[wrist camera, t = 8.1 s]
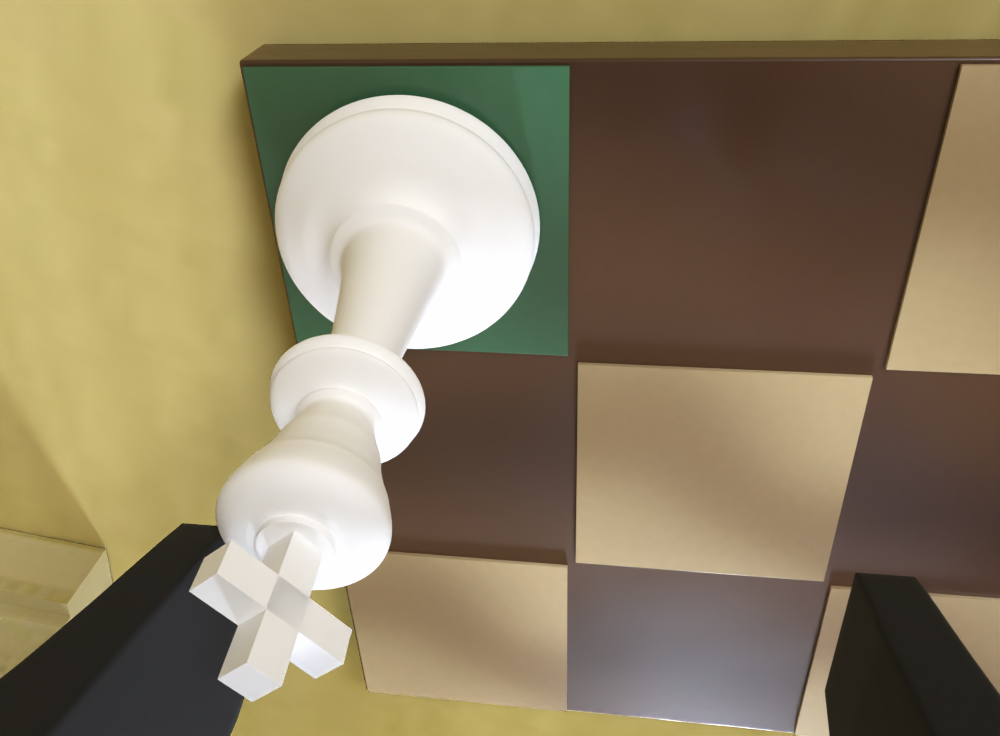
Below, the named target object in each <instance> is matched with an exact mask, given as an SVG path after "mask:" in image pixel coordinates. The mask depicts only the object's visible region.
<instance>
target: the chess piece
mask: <svg viewBox="0 0 1000 736" xmlns="http://www.w3.org/2000/svg"><path fill="white" fill-rule="evenodd" d="M275 231H276V238H277V243H278V247H279V251H280V254H281V257H282V259H283V262H284V264H285V267H286V269H287V271H288V273H289V275H290V276H291V278H292V280H293V281H294V283H295V285H296V286H297V288H298V289H299V290H300V292H301V293H302V294H303V295H304V297H305V298H306V299H307V300H308V301H309V302H310V303H311V304H312V305H313V306H314V307H315V308H316V309H317V310H318V311H319V312H320V313H321V314H322V315H324V316H325V317H326V318H327V319H329V320H330V321H332V322H333V329H332V334H327V335H320V336H316V337H312V338H309V339H306V340H304V341H301V342H299V343H298V344H296V345H294V346H293V347H291V348H290V349H289V350H288V351H286V352H285V353H284V354H283V355H282V357H281V358H280V359H279V360H278V362H277V364H276V365H275V367H274V370H273V372H272V375H271V379H270V406H271V411H272V414H273V417H274V420H275V422H276V424H277V426H278V427H279V429H280V430H281V431H280V432H279V433H278V435H277V436H276V437H275V438H274V439H273V440H272V441H271V442H269V443H268V444H267V445H266V446H264V447H263V448H261V449H259V450H258V451H256V452H255V453H253V454H252V455H251V456H250V457H249V458H248V459H247V460H246V461H244V462H243V463H242V464H241V465H240V466H239V467H238V468H237V469H236V470H235V471H234V472H233V473H232V474H231V475H230V477H229V478H228V479H227V480H226V482H225V483H224V485H223V487H222V489H221V491H220V493H219V495H218V499H217V503H216V522H217V526H218V529H219V532H220V535H221V537H222V539H223V541H224V542H225V545H223V546H222V547H220V548H219V549H217V550H216V551H214V552H213V553H211V554H210V555H208V556H207V557H205V558H204V560H203V562H202V564H201V566H200V568H199V571H198V573H197V575H196V577H195V579H194V581H193V584H192V586H191V588H190V590H189V592H191V593H192V594H194V595H195V596H196V597H198V598H199V599H201V600H202V601H204V602H205V603H207V604H208V605H209V606H211V607H212V608H214V609H215V610H217V611H218V612H219V613H221V614H222V615H224V616H225V617H227V618H228V619H230V620H231V621H232V622H234V623H235V624H237V625H238V627H237V630H236V632H235V635H234V637H233V640H232V643H231V645H230V648H229V650H228V653H227V655H226V658H225V661H224V663H223V666H222V668H221V671H220V674H219V676H218V680H219V681H221V682H222V683H224V684H225V685H227V686H228V687H230V688H231V689H233V690H234V691H236V692H238V693H239V694H241V695H242V696H244V697H245V698H247V699H248V700H250V701H251V702H253V701H255V700H257V699H259V698H261V697H263V696H265V695H266V694H268V693H270V692H272V691H274V690H276V689H278V688H279V687H281V686H282V684H283V681H284V678H285V674H286V671H287V668H288V665H289V662H292V663H293V664H294V665H296V666H297V667H299V668H300V669H302V670H303V671H305V672H306V673H307V674H309V675H310V676H312V677H313V678H315V679H316V678H318V677H320V676H322V675H324V674H325V673H327V672H329V671H331V670H333V669H335V668H337V667H339V666H341V665H343V664H344V660H345V656H346V652H347V648H348V644H349V640H350V636H351V632H352V629H351V628H349V627H348V626H347V625H345V624H344V623H343V622H341V621H340V620H339V619H337V618H336V617H334V616H333V615H332V614H330V613H329V612H328V611H326V610H325V609H324V608H322V607H321V606H320V605H318V604H317V603H316V602H314V601H313V600H312V599H310V595H311V591H312V590H326V589H334V588H339V587H343V586H347V585H350V584H352V583H355V582H357V581H359V580H361V579H363V578H365V577H366V576H368V575H369V574H370V573H372V572H373V571H374V570H375V569H376V568H377V567H378V566H379V565H380V564H381V562H382V561H383V559H384V558H385V556H386V554H387V552H388V549H389V546H390V543H391V537H392V519H391V511H390V505H389V499H388V495H387V492H386V489H385V486H384V484H383V479H382V474H381V463H383V462H386V461H388V460H390V459H392V458H394V457H395V456H397V455H398V454H400V453H401V452H402V451H403V450H404V449H405V448H406V447H407V446H408V445H409V444H410V442H411V441H412V440H413V439H414V437H415V436H416V435H417V433H418V432H419V430H420V428H421V426H422V423H423V420H424V416H425V397H424V392H423V389H422V386H421V384H420V382H419V380H418V378H417V376H416V375H415V373H414V372H413V370H412V369H411V368H410V367H409V365H408V364H407V363H406V362H405V361H404V360H403V359H402V357H403V355H404V353H405V351H406V350H407V348H408V349H425V348H435V347H441V346H446V345H450V344H454V343H457V342H460V341H463V340H465V339H468V338H470V337H472V336H474V335H476V334H478V333H480V332H482V331H483V330H485V329H487V328H488V327H489V326H491V325H492V324H494V323H495V322H496V321H497V320H498V319H500V318H501V317H502V316H503V315H504V314H505V313H506V312H507V311H508V309H509V308H510V307H511V306H512V305H513V303H514V302H515V301H516V299H517V298H518V296H519V295H520V293H521V291H522V289H523V287H524V285H525V283H526V281H527V278H528V276H529V273H530V271H531V268H532V266H533V263H534V260H535V257H536V254H537V249H538V244H539V236H540V217H539V209H538V203H537V199H536V195H535V192H534V189H533V186H532V183H531V181H530V179H529V176H528V174H527V172H526V170H525V169H524V167H523V165H522V163H521V162H520V160H519V159H518V157H517V156H516V155H515V153H514V152H513V151H512V149H511V148H510V147H509V146H508V145H507V143H506V142H505V141H504V140H503V139H502V138H501V137H500V136H499V135H498V134H497V133H496V132H494V131H493V130H492V129H491V128H490V127H488V126H487V125H486V124H484V123H483V122H482V121H480V120H479V119H477V118H476V117H474V116H472V115H471V114H469V113H467V112H465V111H463V110H461V109H459V108H457V107H454V106H452V105H449V104H447V103H444V102H441V101H437V100H434V99H430V98H425V97H419V96H411V95H385V96H377V97H371V98H367V99H363V100H359V101H356V102H353V103H350V104H348V105H345V106H343V107H341V108H339V109H337V110H335V111H333V112H332V113H330V114H329V115H327V116H326V117H324V118H323V119H321V120H320V121H319V122H318V123H316V124H315V125H314V126H313V127H312V128H311V129H310V130H309V131H308V132H307V133H306V134H305V135H304V137H303V138H302V139H301V140H300V142H299V143H298V144H297V146H296V147H295V149H294V151H293V152H292V154H291V156H290V158H289V160H288V162H287V165H286V167H285V170H284V173H283V177H282V181H281V184H280V187H279V190H278V194H277V199H276V205H275Z"/></svg>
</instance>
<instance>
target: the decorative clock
mask: <svg viewBox="0 0 1000 736" xmlns="http://www.w3.org/2000/svg"><path fill="white" fill-rule="evenodd" d="M112 584H113V583H112V578H111V573H110V567H109V562H108V557H107V552H106V549H103V548H98V547H93V546H88V545H83V544H78V543H73V542H68V541H63V540H58V539H53V538H47V537H42V536H37V535H32V534H27V533H22V532H17V531H12V530H7V529H2V528H0V678H1V677H3V676H4V675H5V674H7V673H8V672H9V671H10V670H12V669H13V668H14V667H15V666H17V665H18V664H19V663H20V662H22V661H23V660H24V659H25V658H26V657H28V656H29V655H30V654H31V653H32V652H34V651H35V650H36V649H37V648H38V647H39V646H41V645H42V644H43V643H44V642H45V641H47V640H48V639H49V638H50V637H51V636H52V635H54V634H55V633H56V632H57V631H58V630H59V629H61V628H62V627H63V626H64V625H65V624H66V623H68V622H69V621H70V620H71V619H72V618H73V617H75V616H76V615H77V614H78V613H79V612H81V611H82V610H83V609H84V608H85V607H86V606H88V605H89V604H90V603H91V602H92V601H93V600H94V599H96V598H97V597H98V596H99V595H100V594H101V593H102V592H104V591H105V590H106V589H107V588H108V587H109V586H110V585H112Z"/></svg>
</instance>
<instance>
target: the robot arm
mask: <svg viewBox="0 0 1000 736" xmlns="http://www.w3.org/2000/svg"><path fill="white" fill-rule="evenodd" d="M223 545H225V542H224V541H223V539H222V537H221V535H220V532H219V529H218V526H211V525H197V524H184V523H182V524H181V525H180V526H179V527H177V528H176V529H175V530H174V531H173V532H171V533H170V534H169V535H168V536H167V537H165V538H164V539H163V540H162V541H161V542H160V543H158V544H157V545H156V546H155V547H154V548H153V549H152V550H150V551H149V552H148V553H147V554H146V555H145V556H144V557H142V558H141V559H140V560H139V561H138V562H137V563H136V564H134V565H133V566H132V567H131V568H130V569H129V570H128V571H126V572H125V573H124V574H123V575H122V576H121V577H120V578H118V579H117V580H116V581H115V582H114V583H113V584H112V585H110V586H109V587H108V588H107V589H106V590H105V591H104V592H102V593H101V594H100V595H99V596H98V597H97V598H96V599H94V600H93V601H92V602H91V603H90V604H89V605H88V606H86V607H85V608H84V609H83V610H82V611H81V612H79V613H78V614H77V615H76V616H75V617H73V618H72V619H71V620H70V621H69V622H68V623H66V624H65V625H64V626H63V627H62V628H61V629H59V630H58V631H57V632H56V633H55V634H54V635H52V636H51V637H50V638H49V639H48V640H47V641H45V642H44V643H43V644H42V645H41V646H39V647H38V648H37V649H36V650H35V651H34V652H32V653H31V654H30V655H29V656H28V657H26V658H25V659H24V660H23V661H22V662H20V663H19V664H18V665H17V666H15V667H14V668H13V669H12V670H10V671H9V672H8V673H7V674H5V675H4V676H3V677H1V678H0V736H230V734H231V732H232V730H233V728H234V725H235V723H236V721H237V718H238V715H239V712H240V709H241V706H242V703H243V700H244V696H242V695H241V694H239V693H238V692H236V691H234V690H233V689H231V688H230V687H228V686H227V685H225V684H224V683H222V682H221V681H219V680H218V676H219V674H220V671H221V668H222V666H223V663H224V661H225V658H226V655H227V653H228V650H229V648H230V645H231V643H232V640H233V637H234V635H235V632H236V630H237V627H238V625H237V624H235V623H234V622H232V621H231V620H230V619H228V618H227V617H225V616H224V615H222V614H221V613H219V612H218V611H217V610H215V609H214V608H212V607H211V606H209V605H208V604H207V603H205V602H204V601H202V600H201V599H199V598H198V597H196V596H195V595H194V594H192V593H191V592H189V590H190V588H191V586H192V584H193V581H194V579H195V577H196V575H197V573H198V571H199V568H200V566H201V564H202V562H203V560H204V558H205V557H207V556H208V555H210V554H211V553H213V552H214V551H216V550H217V549H219V548H220V547H222V546H223ZM825 699H826V708H827V717H828V726H829V736H1000V694H999V693H998V691H997V690H996V688H995V687H994V686H993V684H992V683H991V682H990V680H989V679H988V677H987V676H986V675H985V673H984V672H983V671H982V669H981V668H980V666H979V665H978V664H977V662H976V661H975V660H974V658H973V657H972V655H971V654H970V652H969V651H968V650H967V648H966V647H965V645H964V644H963V643H962V641H961V640H960V638H959V637H958V636H957V634H956V633H955V631H954V630H953V628H952V627H951V626H950V624H949V623H948V621H947V620H946V618H945V617H944V615H943V614H942V613H941V611H940V610H939V608H938V607H937V605H936V604H935V602H934V601H933V600H932V598H931V597H930V595H929V594H928V592H927V591H926V589H925V588H924V586H923V585H922V584H921V583H920V582H919V581H918V580H917V579H916V578H915V577H910V576H896V575H882V574H869V573H855V576H854V580H853V584H852V588H851V591H850V595H849V599H848V603H847V607H846V611H845V614H844V618H843V622H842V626H841V630H840V633H839V637H838V641H837V645H836V649H835V653H834V656H833V660H832V664H831V668H830V672H829V676H828V679H827V683H826V687H825Z"/></svg>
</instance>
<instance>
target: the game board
mask: <svg viewBox="0 0 1000 736" xmlns="http://www.w3.org/2000/svg"><path fill="white" fill-rule="evenodd" d="M240 68H241V73H242V78H243V82H244V87H245V92H246V97H247V102H248V107H249V112H250V117H251V122H252V127H253V132H254V137H255V142H256V147H257V152H258V156H259V161H260V166H261V171H262V176H263V181H264V186H265V191H266V196H267V201H268V206H269V211H270V216H271V221H272V225H273V230H274V235H275V240H276V245H277V250H278V255H279V260H280V265H281V270H282V275H283V280H284V285H285V290H286V295H287V299H288V304H289V309H290V314H291V319H292V324H293V329H294V334H295V339H296V344H298V343H299V342H301V341H304V340H306V339H309V338H312V337H316V336H320V335H327V334H332V329H333V322H332V321H330V320H329V319H327V318H326V317H325V316H324V315H322V314H321V313H320V312H319V311H318V310H317V309H316V308H315V307H314V306H313V305H312V304H311V303H310V302H309V301H308V300H307V299H306V298H305V297H304V295H303V294H302V293H301V292H300V290H299V289H298V288H297V286H296V285H295V283H294V281H293V280H292V278H291V276H290V275H289V273H288V271H287V269H286V267H285V264H284V262H283V259H282V257H281V254H280V251H279V247H278V243H277V238H276V231H275V205H276V199H277V194H278V190H279V187H280V184H281V181H282V177H283V173H284V170H285V167H286V165H287V162H288V160H289V158H290V156H291V154H292V152H293V151H294V149H295V147H296V146H297V144H298V143H299V142H300V140H301V139H302V138H303V137H304V135H305V134H306V133H307V132H308V131H309V130H310V129H311V128H312V127H313V126H314V125H315V124H316V123H318V122H319V121H320V120H321V119H323V118H324V117H326V116H327V115H329V114H330V113H332V112H333V111H335V110H337V109H339V108H341V107H343V106H345V105H348V104H350V103H353V102H356V101H359V100H363V99H367V98H371V97H377V96H385V95H411V96H419V97H425V98H430V99H434V100H437V101H441V102H444V103H447V104H449V105H452V106H454V107H457V108H459V109H461V110H463V111H465V112H467V113H469V114H471V115H472V116H474V117H476V118H477V119H479V120H480V121H482V122H483V123H484V124H486V125H487V126H488V127H490V128H491V129H492V130H493V131H494V132H496V133H497V134H498V135H499V136H500V137H501V138H502V139H503V140H504V141H505V142H506V143H507V145H508V146H509V147H510V148H511V149H512V151H513V152H514V153H515V155H516V156H517V157H518V159H519V160H520V162H521V163H522V165H523V167H524V169H525V170H526V172H527V174H528V176H529V179H530V181H531V183H532V186H533V189H534V192H535V195H536V199H537V203H538V209H539V217H540V236H539V244H538V249H537V254H536V257H535V260H534V263H533V266H532V268H531V271H530V273H529V276H528V278H527V281H526V283H525V285H524V287H523V289H522V291H521V293H520V295H519V296H518V298H517V299H516V301H515V302H514V303H513V305H512V306H511V307H510V308H509V309H508V311H507V312H506V313H505V314H504V315H503V316H502V317H501V318H500V319H498V320H497V321H496V322H495V323H494V324H492V325H491V326H489V327H488V328H487V329H485V330H483V331H482V332H480V333H478V334H476V335H474V336H472V337H470V338H468V339H465V340H463V341H460V342H457V343H454V344H450V345H446V346H441V347H435V348H425V349H408V348H407V350H406V351H405V353H404V355H403V357H402V359H403V360H404V361H405V362H406V363H407V364H408V365H409V367H410V368H411V369H412V370H413V372H414V373H415V375H416V376H417V378H418V380H419V382H420V384H421V386H422V389H423V392H424V397H425V416H424V420H423V423H422V426H421V428H420V430H419V432H418V433H417V435H416V436H415V437H414V439H413V440H412V441H411V442H410V444H409V445H408V446H407V447H406V448H405V449H404V450H403V451H402V452H401V453H400V454H398V455H397V456H395V457H394V458H392V459H390V460H388V461H386V462H383V463H381V474H382V479H383V484H384V486H385V489H386V492H387V495H388V499H389V505H390V511H391V519H392V537H391V543H390V546H389V549H388V552H387V554H386V556H385V558H384V559H383V561H382V562H381V564H380V565H379V566H378V567H377V568H376V569H375V570H374V571H373V572H372V573H370V574H369V575H368V576H366V577H365V578H363V579H361V580H359V581H357V582H355V583H352V584H350V585H347V586H346V590H347V595H348V600H349V605H350V610H351V615H352V620H353V625H354V630H355V635H356V640H357V645H358V650H359V655H360V659H361V664H362V669H363V674H364V679H365V684H366V689H367V690H368V692H376V693H386V694H396V695H406V696H416V697H426V698H436V699H446V700H456V701H466V702H475V703H485V704H495V705H505V706H515V707H525V708H535V709H545V710H555V711H565V712H567V710H573V711H583V712H593V713H603V714H612V715H622V716H632V717H642V718H652V719H662V720H672V721H682V722H692V723H702V724H712V725H722V726H732V727H742V728H752V729H762V730H772V731H782V732H791V733H794V734H795V735H803V736H829V726H828V717H827V708H826V699H825V687H826V683H827V679H828V676H829V672H830V668H831V664H832V660H833V656H834V653H835V649H836V645H837V641H838V637H839V633H840V630H841V626H842V622H843V618H844V614H845V611H846V607H847V603H848V599H849V595H850V591H851V588H852V584H853V580H854V576H855V573H869V574H882V575H896V576H910V577H915V578H916V579H917V580H918V581H919V582H920V583H921V584H922V585H923V586H924V588H925V589H926V591H927V592H928V594H929V595H930V597H931V598H932V600H933V601H934V602H935V604H936V605H937V607H938V608H939V610H940V611H941V613H942V614H943V615H944V617H945V618H946V620H947V621H948V623H949V624H950V626H951V627H952V628H953V630H954V631H955V633H956V634H957V636H958V637H959V638H960V640H961V641H962V643H963V644H964V645H965V647H966V648H967V650H968V651H969V652H970V654H971V655H972V657H973V658H974V660H975V661H976V662H977V664H978V665H979V666H980V668H981V669H982V671H983V672H984V673H985V675H986V676H987V677H988V679H989V680H990V682H991V683H992V684H993V686H994V687H995V688H996V690H997V691H998V693H999V694H1000V39H981V40H837V41H692V42H548V43H404V44H264V45H262V46H261V47H259V48H258V49H256V50H255V51H254V52H252V53H251V54H249V55H248V56H246V57H245V58H243V59H242V60H240Z"/></svg>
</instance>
